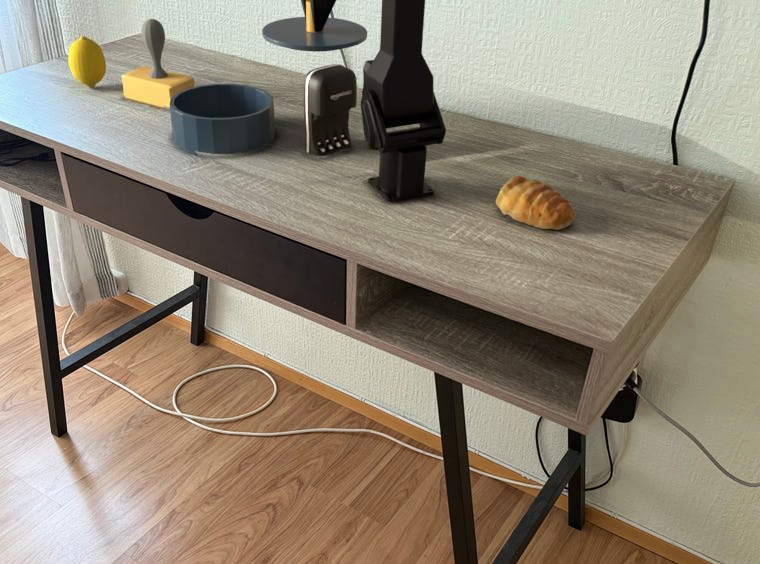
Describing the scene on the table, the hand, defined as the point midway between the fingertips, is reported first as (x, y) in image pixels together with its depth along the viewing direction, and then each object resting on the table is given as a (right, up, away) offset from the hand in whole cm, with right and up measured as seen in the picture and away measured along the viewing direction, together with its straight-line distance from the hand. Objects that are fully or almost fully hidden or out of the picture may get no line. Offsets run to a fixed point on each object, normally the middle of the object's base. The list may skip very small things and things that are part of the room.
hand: (314, 28), depth 116 cm
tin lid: (0, -1, 0) cm, 1 cm away
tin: (-13, -16, 0) cm, 20 cm away
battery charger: (+2, -19, -3) cm, 19 cm away
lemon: (-36, -4, +15) cm, 40 cm away
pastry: (+27, -30, -17) cm, 44 cm away
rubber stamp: (-25, -7, +11) cm, 28 cm away
